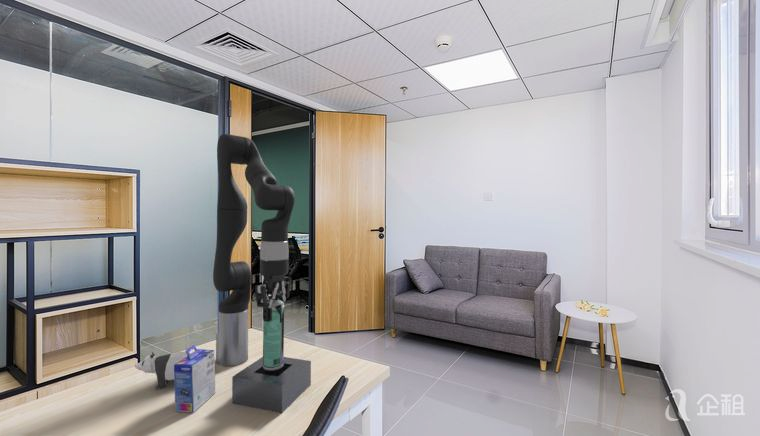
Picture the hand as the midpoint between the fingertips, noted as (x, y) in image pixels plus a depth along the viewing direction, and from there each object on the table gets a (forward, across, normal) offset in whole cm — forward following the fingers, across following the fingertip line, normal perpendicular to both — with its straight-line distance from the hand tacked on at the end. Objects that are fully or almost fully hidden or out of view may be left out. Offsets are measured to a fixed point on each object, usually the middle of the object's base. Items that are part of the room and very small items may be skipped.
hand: (273, 317), depth 95 cm
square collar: (+21, 0, 0) cm, 21 cm away
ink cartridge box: (+22, +10, -17) cm, 29 cm away
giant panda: (+22, +5, -32) cm, 39 cm away
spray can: (+14, 0, 0) cm, 14 cm away
